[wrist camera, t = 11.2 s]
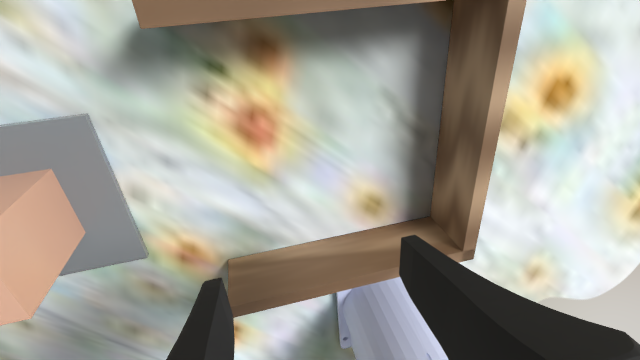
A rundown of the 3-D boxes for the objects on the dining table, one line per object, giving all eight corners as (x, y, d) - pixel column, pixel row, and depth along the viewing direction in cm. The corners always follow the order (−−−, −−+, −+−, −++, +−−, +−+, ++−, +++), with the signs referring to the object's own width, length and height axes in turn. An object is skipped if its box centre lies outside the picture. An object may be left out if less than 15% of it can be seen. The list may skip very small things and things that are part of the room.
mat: (148, 253, 23) (147, 257, 22) (-17, 287, 21) (-21, 292, 21) (87, 113, 18) (84, 115, 17) (-135, 142, 16) (-143, 145, 16)
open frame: (439, 223, 28) (473, 258, 24) (231, 269, 25) (231, 318, 21) (471, -25, 19) (533, -33, 15) (155, 0, 16) (131, -1, 12)
